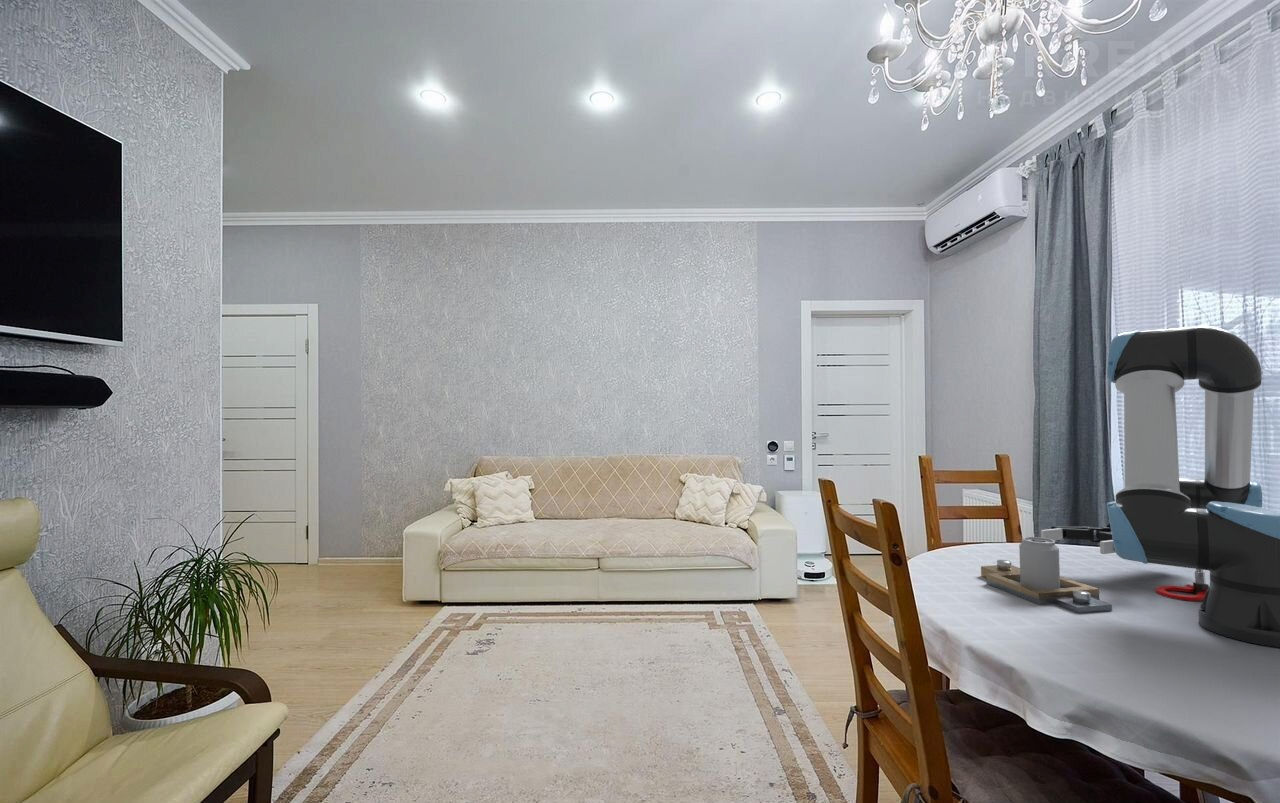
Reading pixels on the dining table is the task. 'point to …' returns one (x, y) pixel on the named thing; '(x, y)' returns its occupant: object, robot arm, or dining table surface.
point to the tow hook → (1187, 588)
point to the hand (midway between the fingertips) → (1070, 541)
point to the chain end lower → (1063, 599)
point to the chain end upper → (1008, 573)
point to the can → (1039, 563)
